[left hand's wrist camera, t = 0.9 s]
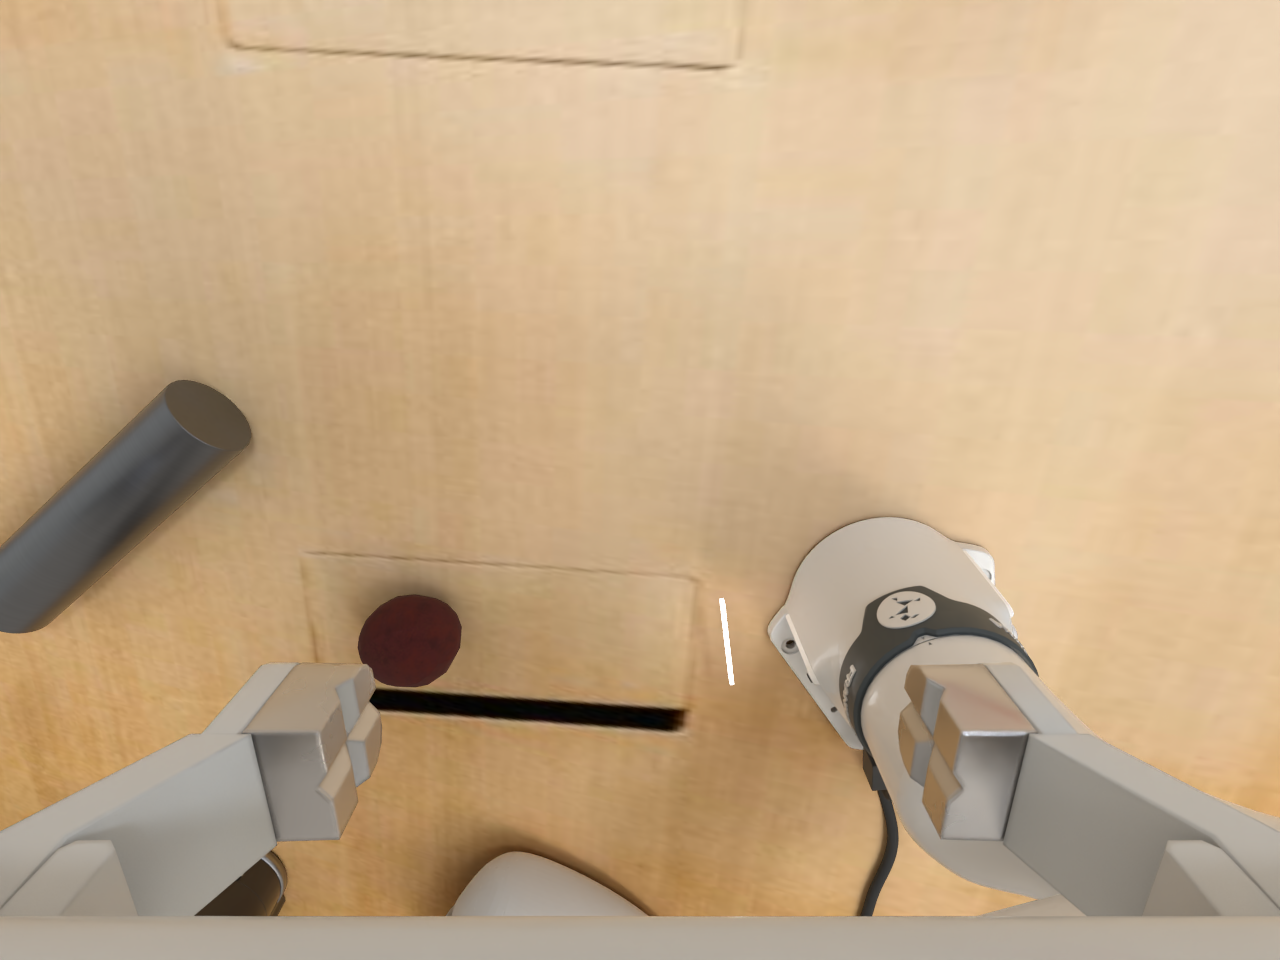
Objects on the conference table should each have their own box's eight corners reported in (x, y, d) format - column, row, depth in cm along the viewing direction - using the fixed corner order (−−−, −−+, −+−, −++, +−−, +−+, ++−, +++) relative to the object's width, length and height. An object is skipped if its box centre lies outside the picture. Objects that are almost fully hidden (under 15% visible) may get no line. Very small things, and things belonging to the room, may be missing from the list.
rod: (201, 371, 50) (144, 391, 45) (266, 435, 52) (219, 462, 46) (11, 553, 56) (-62, 591, 50) (76, 605, 57) (13, 648, 52)
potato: (361, 598, 57) (325, 648, 50) (443, 563, 56) (416, 609, 49) (408, 666, 59) (379, 722, 53) (487, 634, 58) (468, 687, 52)
